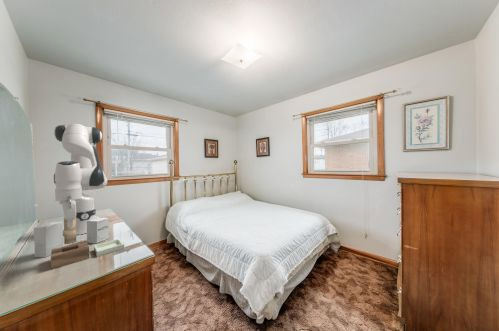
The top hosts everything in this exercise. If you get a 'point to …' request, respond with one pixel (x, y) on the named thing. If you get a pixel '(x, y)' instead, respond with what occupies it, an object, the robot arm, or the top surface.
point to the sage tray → (108, 247)
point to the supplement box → (97, 230)
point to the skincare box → (48, 238)
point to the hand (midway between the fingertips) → (70, 225)
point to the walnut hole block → (69, 254)
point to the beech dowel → (69, 232)
